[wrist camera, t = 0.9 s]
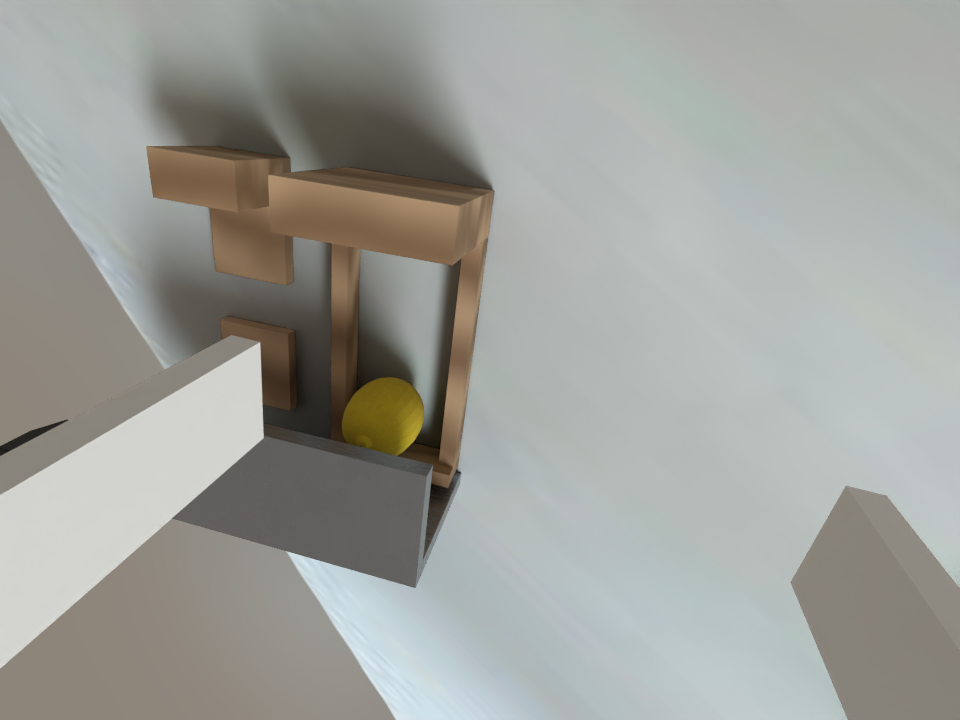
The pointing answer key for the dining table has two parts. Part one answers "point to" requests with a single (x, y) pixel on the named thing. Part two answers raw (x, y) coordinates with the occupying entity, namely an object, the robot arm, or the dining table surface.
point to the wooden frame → (398, 231)
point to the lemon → (383, 416)
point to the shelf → (329, 504)
